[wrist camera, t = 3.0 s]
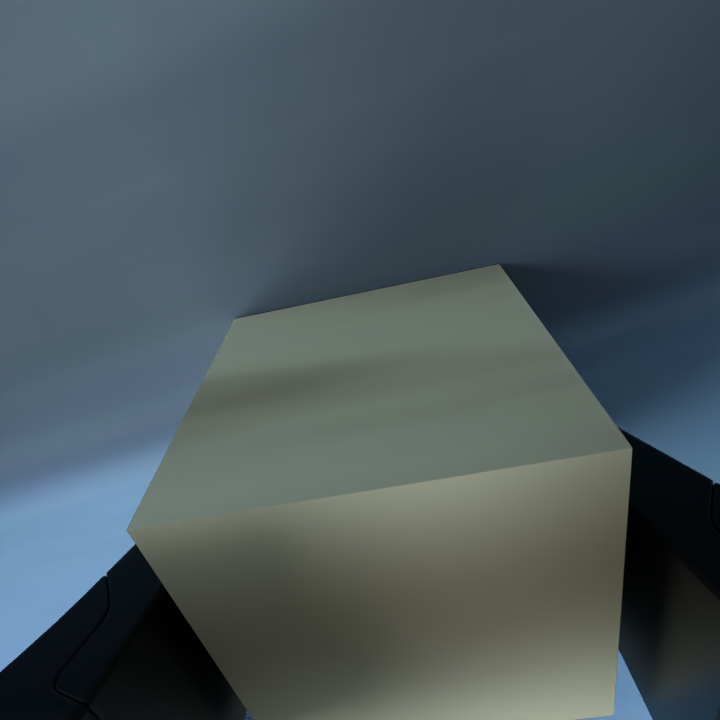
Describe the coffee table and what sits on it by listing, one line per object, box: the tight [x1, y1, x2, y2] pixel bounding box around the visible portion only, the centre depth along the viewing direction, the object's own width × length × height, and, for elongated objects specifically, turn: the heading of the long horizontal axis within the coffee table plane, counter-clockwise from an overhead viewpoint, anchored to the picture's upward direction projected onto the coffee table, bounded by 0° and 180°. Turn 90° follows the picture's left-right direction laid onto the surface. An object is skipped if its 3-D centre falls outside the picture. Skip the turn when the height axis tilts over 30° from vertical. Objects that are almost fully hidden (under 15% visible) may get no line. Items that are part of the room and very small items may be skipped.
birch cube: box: [127, 264, 632, 720], centre depth 8 cm, size 5×5×5 cm
